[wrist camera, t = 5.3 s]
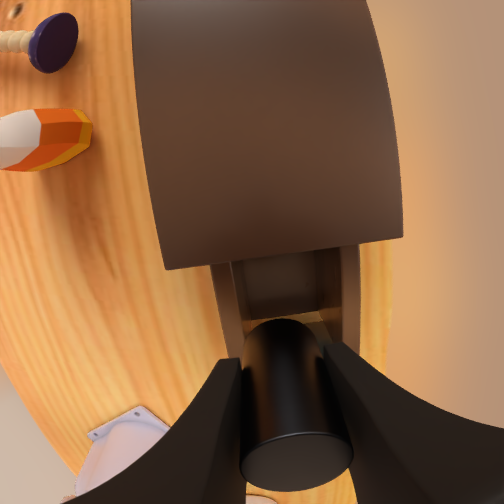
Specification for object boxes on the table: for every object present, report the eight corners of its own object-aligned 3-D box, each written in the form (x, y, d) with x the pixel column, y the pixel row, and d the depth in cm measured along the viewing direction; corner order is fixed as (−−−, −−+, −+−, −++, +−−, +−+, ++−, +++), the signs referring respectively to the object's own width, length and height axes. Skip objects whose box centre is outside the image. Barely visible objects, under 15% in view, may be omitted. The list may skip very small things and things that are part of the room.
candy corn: (96, 104, 16) (17, 80, 8) (105, 146, 17) (24, 142, 9) (30, 139, 16) (-52, 139, 9) (38, 178, 17) (-45, 192, 9)
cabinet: (337, 204, 18) (404, 237, 10) (202, 222, 18) (164, 271, 10) (303, 0, 14) (333, -82, 6) (174, 16, 14) (131, -61, 6)
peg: (272, 388, 11) (282, 501, 6) (227, 345, 10) (213, 463, 5) (330, 352, 10) (371, 461, 6) (289, 303, 10) (318, 415, 5)
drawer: (338, 381, 20) (363, 450, 14) (244, 395, 21) (242, 469, 14) (323, 132, 16) (367, 114, 9) (198, 148, 16) (166, 138, 10)
